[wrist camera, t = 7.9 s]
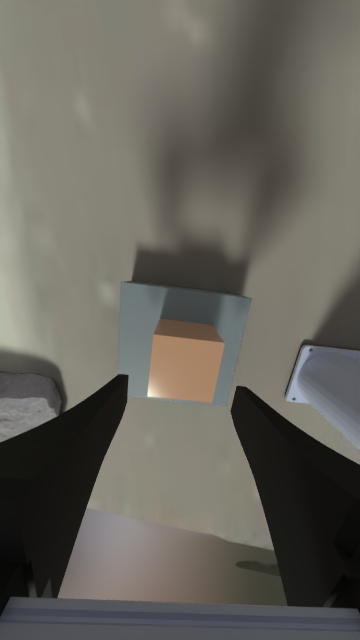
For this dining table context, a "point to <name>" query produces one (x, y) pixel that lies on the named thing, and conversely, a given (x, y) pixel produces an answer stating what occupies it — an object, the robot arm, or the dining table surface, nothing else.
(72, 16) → the dining table surface
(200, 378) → the terracotta block
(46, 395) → the stone block
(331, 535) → the robot arm
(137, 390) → the slate box
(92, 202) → the dining table surface
